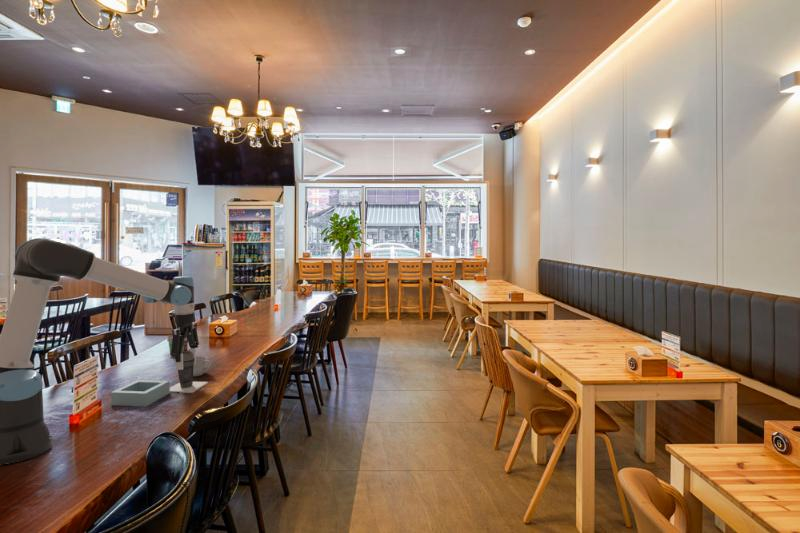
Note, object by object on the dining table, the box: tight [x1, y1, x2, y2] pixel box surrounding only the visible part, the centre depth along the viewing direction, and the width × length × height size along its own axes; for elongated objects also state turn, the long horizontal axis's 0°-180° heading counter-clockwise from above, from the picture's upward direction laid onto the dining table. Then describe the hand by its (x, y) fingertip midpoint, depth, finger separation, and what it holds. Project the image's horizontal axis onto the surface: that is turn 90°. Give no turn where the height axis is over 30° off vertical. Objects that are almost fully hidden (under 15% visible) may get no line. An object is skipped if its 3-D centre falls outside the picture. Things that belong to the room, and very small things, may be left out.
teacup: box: [193, 355, 212, 377], centre depth 195 cm, size 14×11×8 cm
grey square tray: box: [110, 379, 171, 408], centre depth 166 cm, size 14×14×5 cm
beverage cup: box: [177, 347, 195, 388], centre depth 178 cm, size 7×7×20 cm
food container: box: [166, 334, 189, 357], centre depth 230 cm, size 12×6×10 cm, turn 73°
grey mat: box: [170, 380, 209, 394], centre depth 179 cm, size 12×12×1 cm
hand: (186, 366), depth 179 cm, fingers open, 8 cm apart
